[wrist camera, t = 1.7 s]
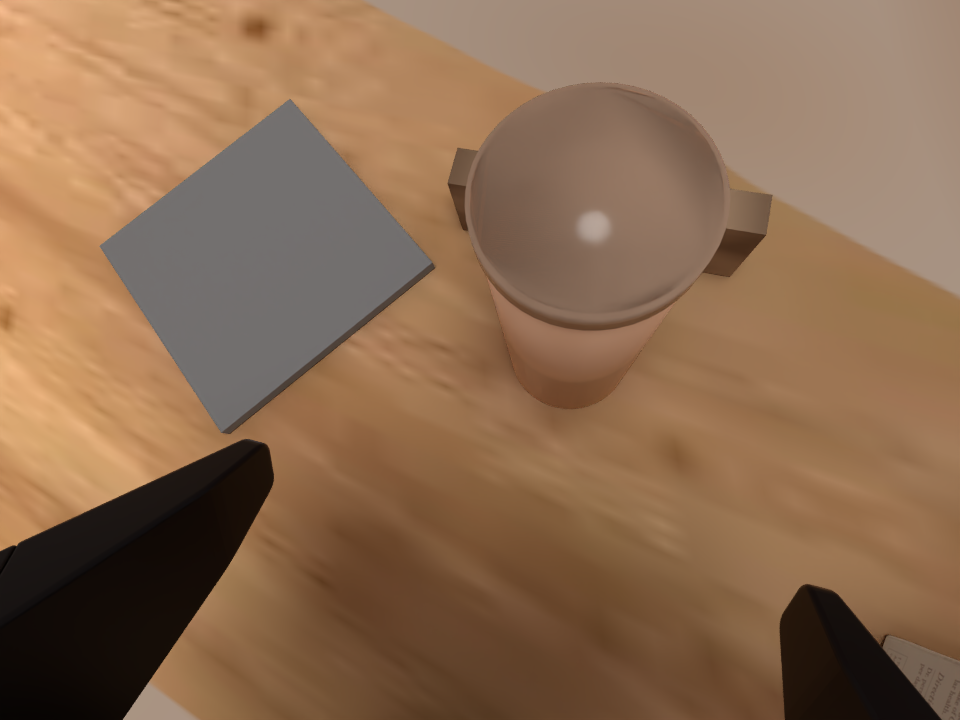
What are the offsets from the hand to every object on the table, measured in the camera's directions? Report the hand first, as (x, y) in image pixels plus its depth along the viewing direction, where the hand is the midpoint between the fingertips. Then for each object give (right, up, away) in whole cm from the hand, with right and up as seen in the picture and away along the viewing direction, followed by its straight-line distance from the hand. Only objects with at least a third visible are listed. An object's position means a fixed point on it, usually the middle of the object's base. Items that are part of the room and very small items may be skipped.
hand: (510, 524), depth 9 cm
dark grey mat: (-11, +8, +17) cm, 22 cm away
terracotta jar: (+3, +3, +14) cm, 15 cm away
